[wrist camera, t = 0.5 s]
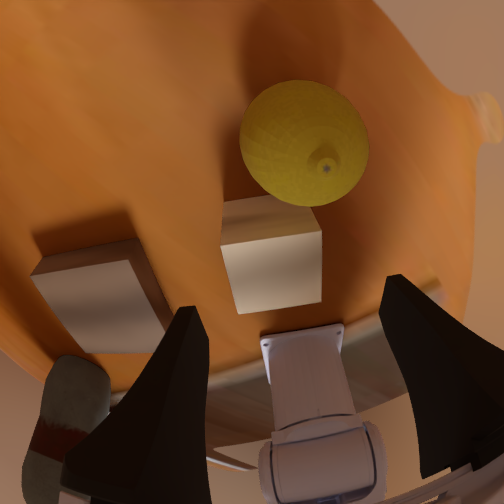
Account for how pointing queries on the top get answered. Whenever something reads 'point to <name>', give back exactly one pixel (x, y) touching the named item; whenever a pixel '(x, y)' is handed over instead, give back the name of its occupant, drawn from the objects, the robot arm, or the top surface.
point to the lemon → (304, 143)
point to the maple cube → (271, 253)
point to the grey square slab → (106, 297)
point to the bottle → (63, 425)
